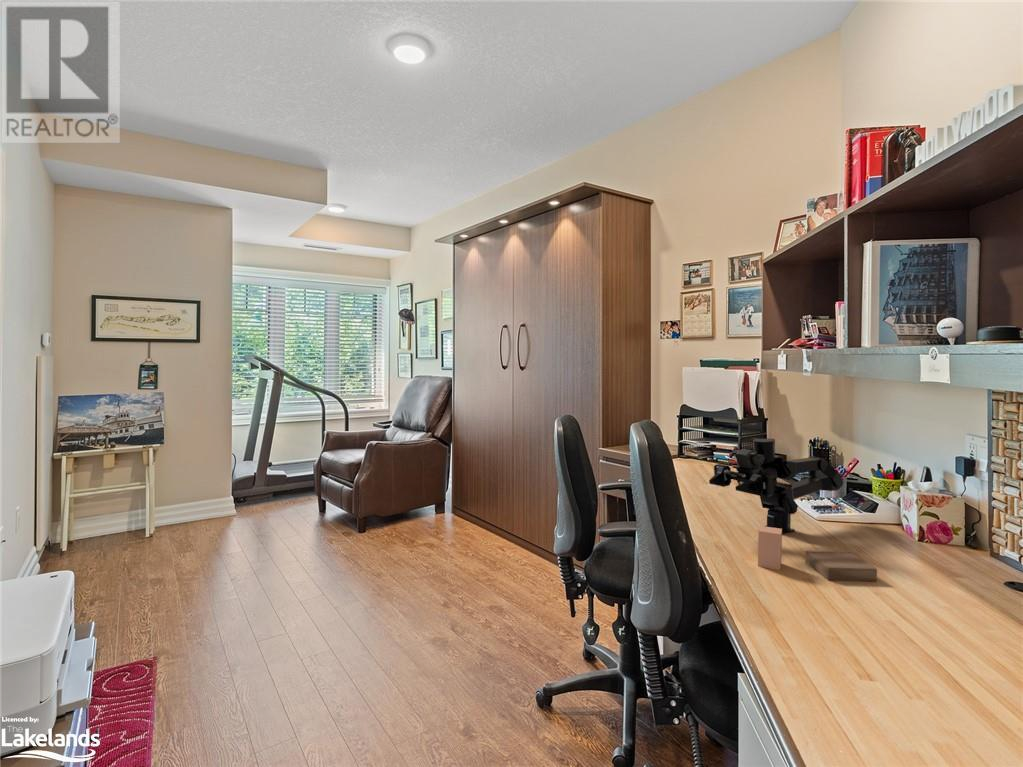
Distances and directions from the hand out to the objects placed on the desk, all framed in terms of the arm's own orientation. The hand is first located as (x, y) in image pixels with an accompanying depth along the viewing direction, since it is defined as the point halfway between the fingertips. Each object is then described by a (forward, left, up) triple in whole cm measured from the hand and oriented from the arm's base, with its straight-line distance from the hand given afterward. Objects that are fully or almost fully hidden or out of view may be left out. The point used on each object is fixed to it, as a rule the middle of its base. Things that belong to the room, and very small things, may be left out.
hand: (722, 485), depth 151 cm
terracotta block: (+2, +18, -17) cm, 24 cm away
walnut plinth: (-10, +28, -16) cm, 34 cm away
